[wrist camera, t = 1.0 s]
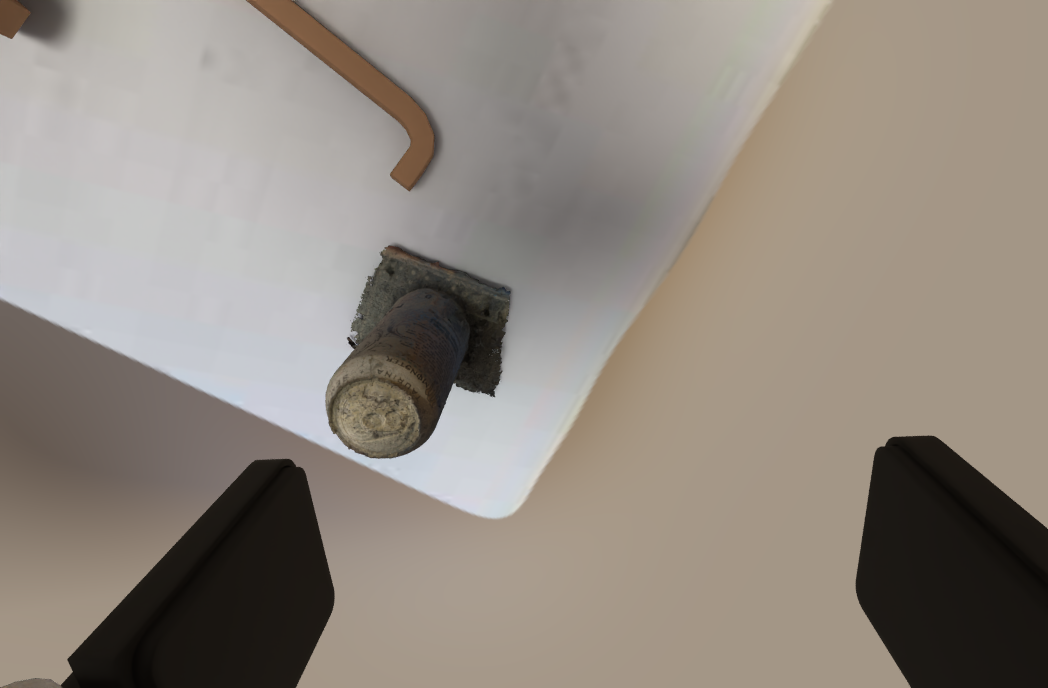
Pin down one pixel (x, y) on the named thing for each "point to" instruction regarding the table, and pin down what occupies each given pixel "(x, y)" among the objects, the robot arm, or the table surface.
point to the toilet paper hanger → (275, 3)
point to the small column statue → (414, 353)
